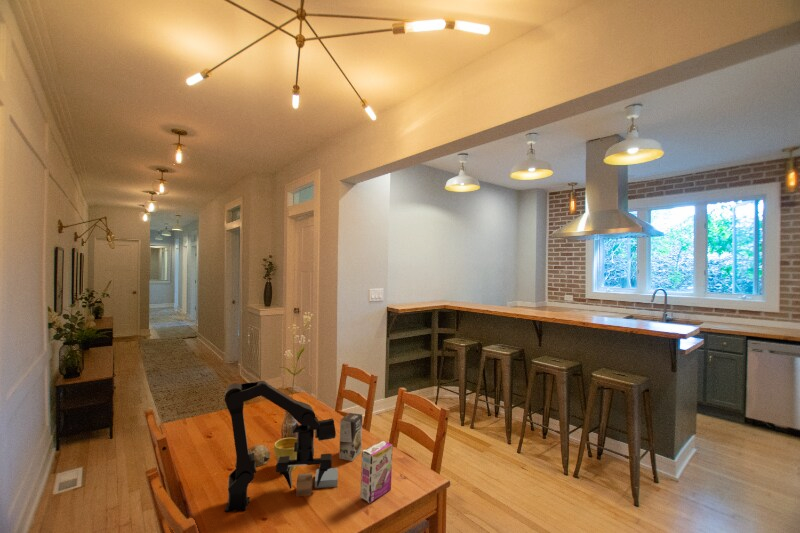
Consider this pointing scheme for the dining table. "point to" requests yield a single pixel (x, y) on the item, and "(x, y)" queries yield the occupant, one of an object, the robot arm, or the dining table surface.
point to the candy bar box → (376, 471)
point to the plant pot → (286, 449)
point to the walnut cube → (304, 484)
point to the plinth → (327, 478)
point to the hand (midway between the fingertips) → (304, 486)
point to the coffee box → (350, 436)
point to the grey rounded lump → (260, 454)
